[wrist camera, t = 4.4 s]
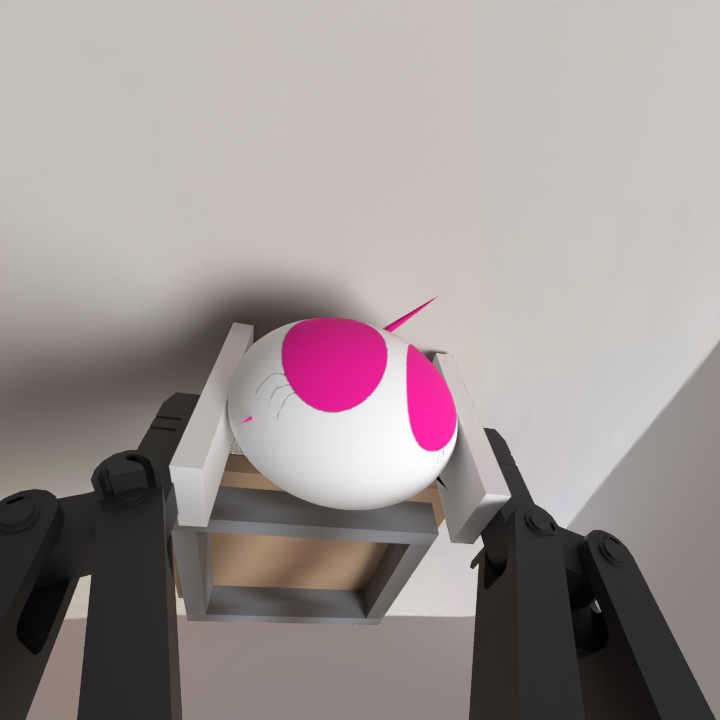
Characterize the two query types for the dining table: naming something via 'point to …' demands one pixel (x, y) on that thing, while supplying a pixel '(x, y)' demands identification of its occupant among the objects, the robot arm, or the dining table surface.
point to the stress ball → (342, 413)
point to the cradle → (298, 554)
